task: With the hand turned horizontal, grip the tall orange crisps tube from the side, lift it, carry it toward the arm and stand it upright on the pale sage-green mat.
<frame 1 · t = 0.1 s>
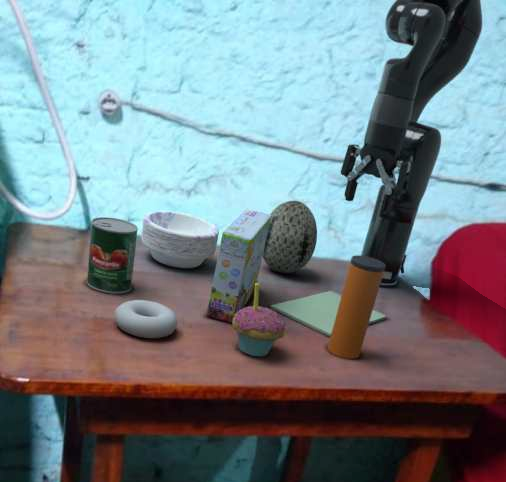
hand: (366, 206, 149), 17 cm above the table, tool pointing down, fingers open, 8 cm apart
snack box: (232, 303, 137), on the table
decorative egg: (281, 272, 159), on the table
canned tomato: (108, 286, 132), on the table
placemat: (329, 313, 142), on the table
donut: (144, 329, 119), on the table
paper bowls: (176, 261, 152), on the table
cupcake: (253, 350, 120), on the table
crisps tube: (343, 351, 127), on the table
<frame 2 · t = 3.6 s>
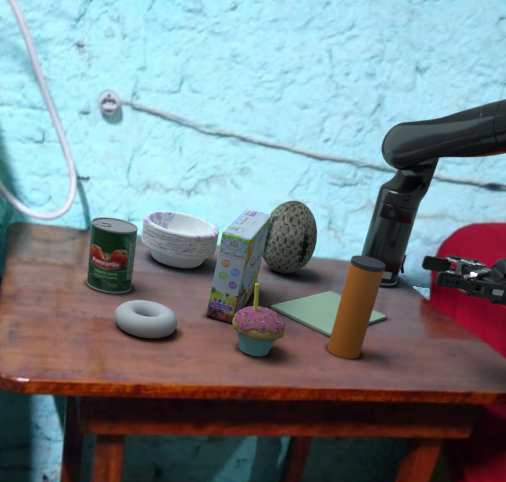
hand: (430, 269, 121), 16 cm above the table, tool horizontal, fingers open, 8 cm apart
nothing on the table moved.
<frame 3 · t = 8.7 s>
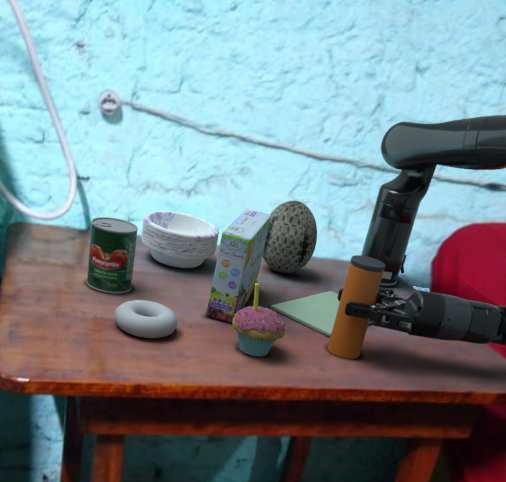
hand: (342, 301, 122), 9 cm above the table, tool horizontal, fingers closed on crisps tube, 5 cm apart
crisps tube: (343, 351, 127), on the table, touching gripper
everything else where it was.
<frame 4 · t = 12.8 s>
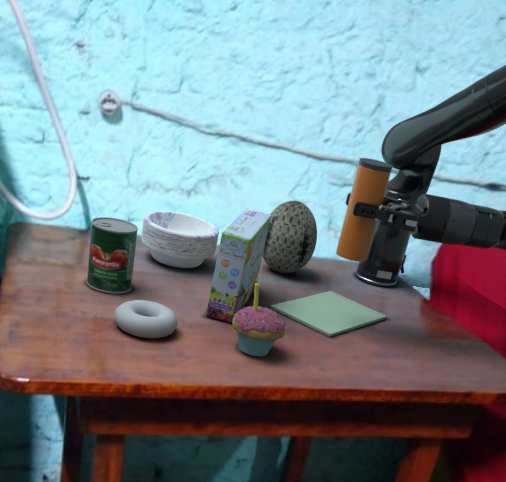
hand: (350, 203, 126), 22 cm above the table, tool horizontal, fingers closed on crisps tube, 5 cm apart
crisps tube: (351, 256, 131), point 13 cm above the table, touching gripper
everything else where it was.
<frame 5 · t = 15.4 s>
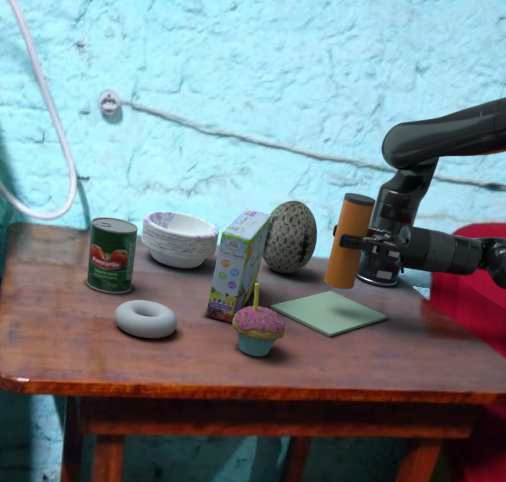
hand: (337, 235, 134), 15 cm above the table, tool horizontal, fingers closed on crisps tube, 5 cm apart
crisps tube: (338, 283, 139), point 6 cm above the table, touching gripper
everything else where it was.
when the fingers open (9 cm above the table, at t = 17.4 s): crisps tube stays where it is, resting on placemat.
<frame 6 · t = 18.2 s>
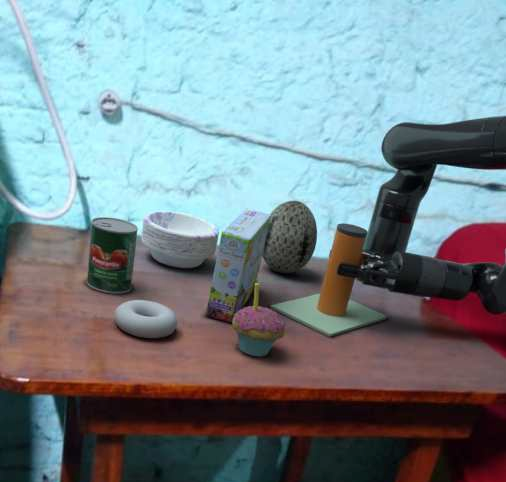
hand: (333, 261, 137), 10 cm above the table, tool horizontal, fingers open, 8 cm apart
crisps tube: (330, 310, 142), point 1 cm above the table, touching placemat
everything else where it was.
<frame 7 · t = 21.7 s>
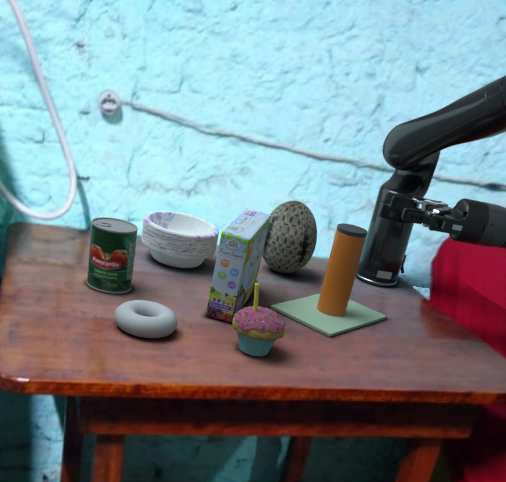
hand: (397, 207, 133), 22 cm above the table, tool horizontal, fingers open, 8 cm apart
nothing on the table moved.
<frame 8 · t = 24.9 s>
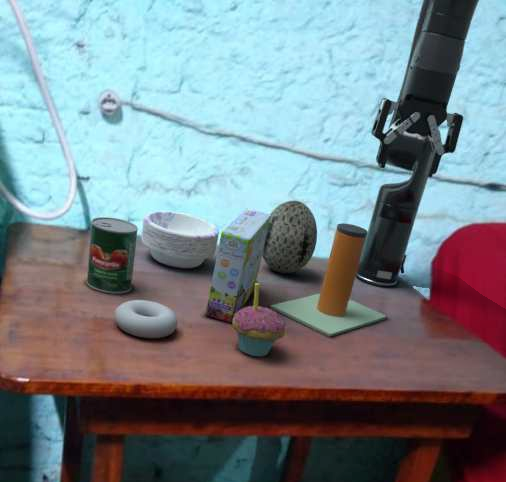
hand: (404, 171, 127), 28 cm above the table, tool pointing down, fingers open, 8 cm apart
nothing on the table moved.
at the end: crisps tube inside the target area on the placemat (0.1 cm from its centre), point 0.6 cm above the placemat's base; crisps tube tilted 0°; the gripper is holding nothing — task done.
